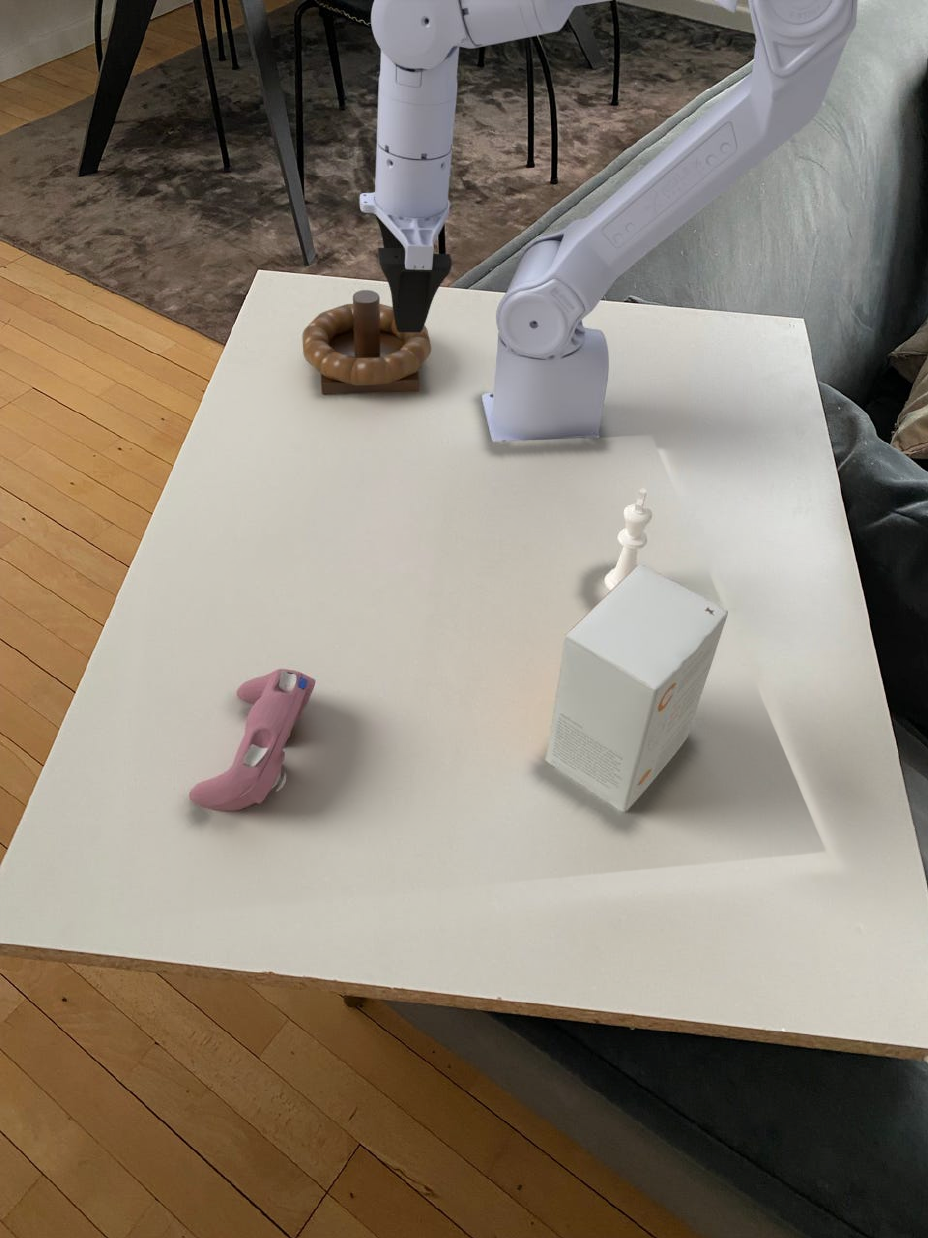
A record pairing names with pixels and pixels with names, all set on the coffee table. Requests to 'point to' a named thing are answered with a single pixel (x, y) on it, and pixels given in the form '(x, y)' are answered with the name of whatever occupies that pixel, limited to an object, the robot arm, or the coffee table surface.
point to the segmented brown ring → (362, 368)
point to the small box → (631, 684)
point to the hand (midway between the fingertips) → (404, 305)
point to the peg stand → (367, 347)
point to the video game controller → (259, 742)
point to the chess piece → (630, 539)
